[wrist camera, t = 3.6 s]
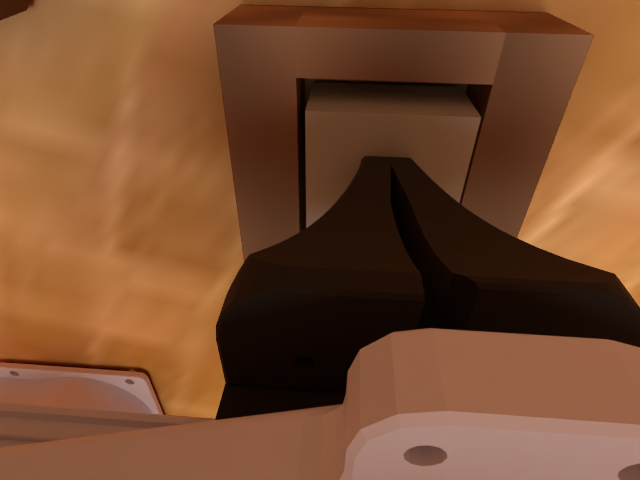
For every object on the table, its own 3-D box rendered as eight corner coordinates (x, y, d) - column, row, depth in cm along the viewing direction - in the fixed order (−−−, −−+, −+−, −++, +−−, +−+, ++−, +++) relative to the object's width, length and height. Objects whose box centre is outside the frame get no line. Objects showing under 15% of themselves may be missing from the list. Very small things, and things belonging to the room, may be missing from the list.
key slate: (312, 205, 15) (306, 246, 13) (313, 81, 12) (305, 110, 11) (434, 211, 15) (446, 254, 13) (461, 87, 12) (481, 117, 10)
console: (280, 438, 28) (273, 485, 26) (240, 4, 12) (213, 24, 10) (413, 448, 28) (418, 497, 26) (547, 12, 12) (593, 35, 10)
